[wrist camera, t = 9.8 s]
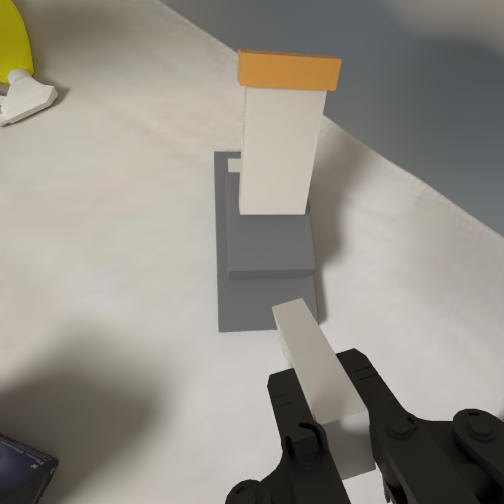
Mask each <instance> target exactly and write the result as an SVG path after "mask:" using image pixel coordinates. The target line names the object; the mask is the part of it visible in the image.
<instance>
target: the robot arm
mask: <svg viewBox="0 0 504 504" xmlns="http://www.w3.org/2000/svg"><path fill="white" fill-rule="evenodd" d="M272 309H273V313H274V317H275V321H276V325H277V329H278V333H279V337H280V341H281V345H282V349H283V352H284V355H285V358H286V360H287V363H288V366H289V368H290V369H287V370H284V371H281V372H278V373H274V374H271V375H270V376H269V380H268V385H267V388H268V391H269V395H270V399H271V403H272V407H273V411H274V415H275V418H276V422H277V426H278V430H279V434H280V438H281V446H282V450H283V453H282V458H281V461H280V463H279V465H278V466H277V468H276V469H275V470H274V471H273V472H272V473H271V474H270V475H268V476H267V477H266V478H264V479H263V480H262V481H260V482H259V481H257V480H251V479H249V480H245V481H241V482H240V483H238V484H237V485H236V486H234V487H233V488H232V490H231V491H230V493H229V494H228V495H227V498H226V502H225V504H351V502H350V500H349V497H348V495H347V492H346V490H345V488H344V485H343V483H342V480H345V479H348V478H351V477H354V476H357V475H360V474H363V473H366V472H369V471H372V470H375V469H376V466H375V461H376V463H377V465H378V467H379V469H380V471H381V473H382V478H383V486H384V494H385V498H386V501H387V503H389V502H390V499H391V501H392V503H393V504H504V422H503V421H501V420H500V419H498V418H497V417H495V416H493V415H492V414H490V413H488V412H486V411H482V410H478V409H464V410H461V411H459V412H458V413H457V414H456V415H455V416H454V417H453V421H430V420H424V419H420V418H417V417H415V416H414V415H413V414H411V413H409V412H407V411H406V410H405V409H404V408H403V407H402V406H401V405H400V403H399V402H398V400H397V399H396V398H395V396H394V395H393V393H392V392H391V391H390V389H389V388H388V386H387V385H386V383H385V382H384V381H383V379H382V378H381V376H380V375H379V374H378V372H377V371H376V369H375V368H374V367H373V365H372V364H371V362H370V361H369V360H368V358H367V357H366V355H364V354H363V353H361V352H360V351H358V350H356V349H355V348H354V349H350V350H347V351H344V352H341V353H337V354H335V353H334V351H333V350H332V348H331V346H330V344H329V343H328V341H327V339H326V338H325V336H324V334H323V333H322V331H321V329H320V327H319V326H318V324H317V322H316V321H315V319H314V317H313V315H312V314H311V312H310V310H309V309H308V307H307V305H306V303H305V302H304V300H303V298H300V299H296V300H293V301H290V302H286V303H283V304H279V305H276V306H273V307H272Z"/></svg>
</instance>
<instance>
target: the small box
mask: <svg viewBox="0 0 504 504" xmlns="http://www.w3.org/2000/svg"><path fill="white" fill-rule="evenodd" d="M57 465H58V460H57V459H55V458H52V457H50V456H48V455H46V454H43V453H41V452H39V451H37V450H35V449H32V448H30V447H28V446H26V445H24V444H21V443H19V442H17V441H15V440H12V439H10V438H8V437H6V436H4V435H1V434H0V504H37V503H38V501H39V499H40V497H41V496H42V494H43V492H44V490H45V488H46V486H48V484H49V482H50V480H51V478H52V476H53V473H54V471H55V469H56V467H57Z"/></svg>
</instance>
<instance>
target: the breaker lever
mask: <svg viewBox="0 0 504 504" xmlns="http://www.w3.org/2000/svg"><path fill="white" fill-rule="evenodd" d="M341 61H342V60H341V59H339V58H336V57H333V56H329V55H316V54H315V55H314V54H302V53H301V54H300V53H286V52H272V51H257V50H256V51H255V50H243V49H239V50H238V76H237V80H238V82H239V83H240V85H241V86H244V101H243V122H242V143H241V164H240V185H239V210H240V215H273V214H305V209H306V203H307V198H308V192H309V187H310V181H311V176H312V170H313V164H314V159H315V153H316V148H317V142H318V137H319V131H320V126H321V120H322V115H323V109H324V103H325V98H326V92H327V90H331V91H335V90H336V87H337V81H338V76H339V71H340V66H341Z"/></svg>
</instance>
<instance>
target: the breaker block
mask: <svg viewBox="0 0 504 504" xmlns="http://www.w3.org/2000/svg"><path fill="white" fill-rule="evenodd" d="M240 164H241V152H216V151H214V173H215V211H216V249H217V287H218V325H219V333H220V332H240V331H260V330H278V329H277V325H276V321H275V317H274V313H273V309H272V307H273V306H276V305H279V304H283V303H286V302H290V301H293V300H296V299H300V298H303V300H304V302H305V303H306V305H307V307H308V309H309V310H310V312H311V314H312V315H313V317H314V319H315V321H316V322H317V324H318V326H319V321H318V312H317V304H316V295H315V286H314V277H313V271H314V270H315V269H316V262H315V253H314V245H313V236H312V228H311V219H310V210H309V202H308V198H307V203H306V209H305V214H273V215H240V210H239V185H240Z"/></svg>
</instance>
